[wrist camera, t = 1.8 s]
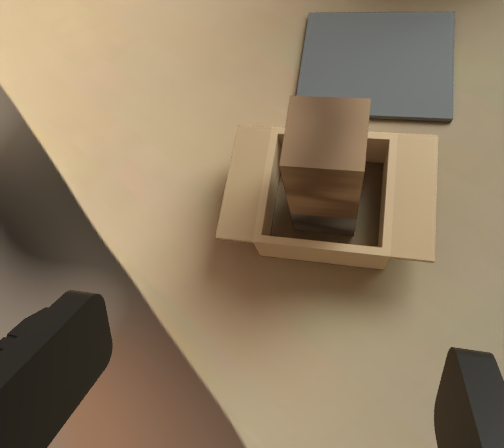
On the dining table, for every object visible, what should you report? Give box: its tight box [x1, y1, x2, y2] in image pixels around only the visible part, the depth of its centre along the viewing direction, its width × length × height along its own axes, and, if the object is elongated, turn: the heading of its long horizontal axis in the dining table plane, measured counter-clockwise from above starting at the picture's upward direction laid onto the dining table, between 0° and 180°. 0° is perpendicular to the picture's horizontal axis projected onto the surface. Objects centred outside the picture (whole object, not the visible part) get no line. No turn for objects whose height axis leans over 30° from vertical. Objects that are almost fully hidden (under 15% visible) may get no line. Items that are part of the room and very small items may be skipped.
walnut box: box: [279, 96, 371, 236], centre depth 31 cm, size 5×5×12 cm
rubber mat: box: [296, 12, 454, 122], centre depth 41 cm, size 14×12×1 cm
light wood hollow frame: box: [215, 125, 438, 270], centre depth 35 cm, size 16×10×4 cm, turn 81°
